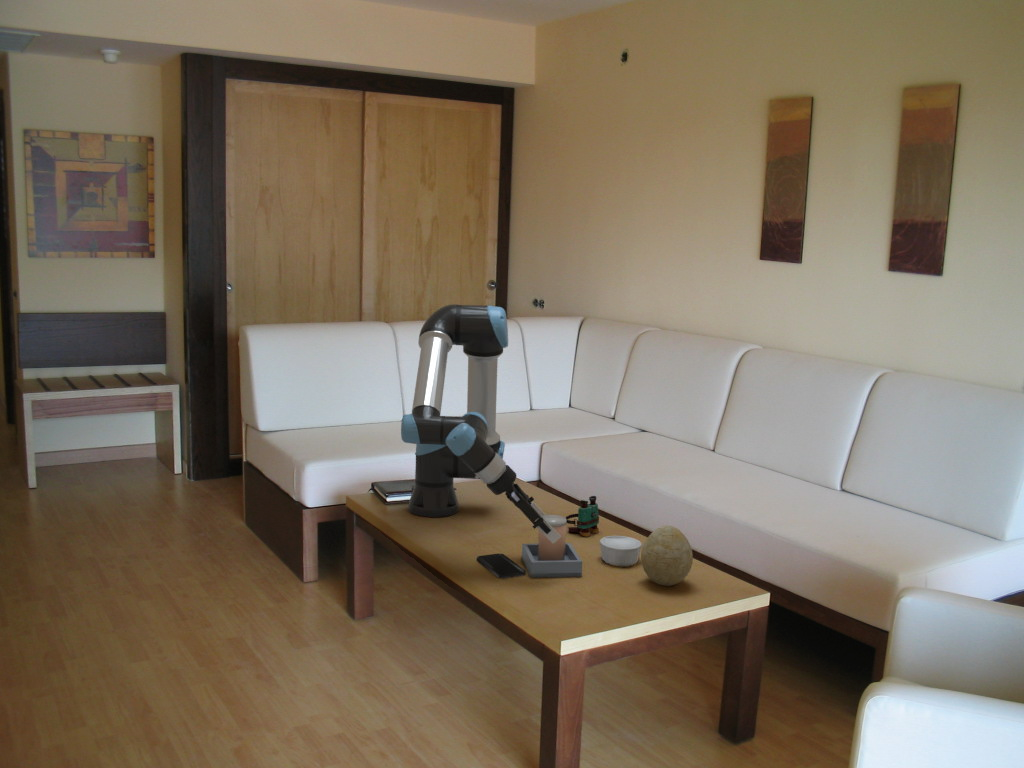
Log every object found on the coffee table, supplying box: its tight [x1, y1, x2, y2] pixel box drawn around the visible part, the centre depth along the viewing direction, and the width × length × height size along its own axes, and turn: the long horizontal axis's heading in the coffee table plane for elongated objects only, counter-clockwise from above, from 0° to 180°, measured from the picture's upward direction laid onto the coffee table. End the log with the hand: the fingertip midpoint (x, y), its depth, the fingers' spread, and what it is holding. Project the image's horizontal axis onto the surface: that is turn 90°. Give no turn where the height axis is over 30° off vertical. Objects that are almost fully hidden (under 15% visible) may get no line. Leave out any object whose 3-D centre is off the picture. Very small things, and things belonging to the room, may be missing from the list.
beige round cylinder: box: [537, 514, 567, 561], centre depth 245 cm, size 7×7×12 cm
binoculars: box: [565, 495, 600, 538], centre depth 275 cm, size 9×11×10 cm
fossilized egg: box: [640, 524, 694, 587], centre depth 237 cm, size 13×13×15 cm
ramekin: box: [599, 535, 643, 567], centre depth 253 cm, size 11×11×5 cm
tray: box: [521, 542, 583, 579], centre depth 246 cm, size 14×13×4 cm
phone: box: [476, 553, 526, 580], centre depth 245 cm, size 8×1×15 cm
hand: (551, 530), depth 244 cm, fingers open, 13 cm apart
